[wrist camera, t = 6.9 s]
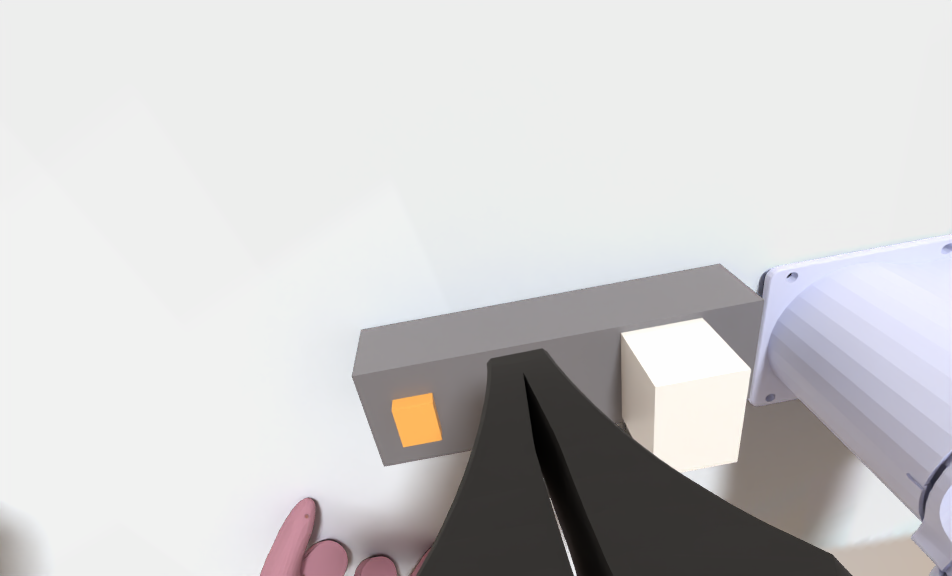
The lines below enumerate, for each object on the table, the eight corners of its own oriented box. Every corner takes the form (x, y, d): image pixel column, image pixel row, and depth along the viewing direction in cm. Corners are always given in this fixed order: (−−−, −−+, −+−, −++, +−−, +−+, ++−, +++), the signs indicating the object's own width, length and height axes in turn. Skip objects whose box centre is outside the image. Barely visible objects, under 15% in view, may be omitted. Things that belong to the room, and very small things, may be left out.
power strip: (720, 263, 22) (824, 348, 16) (700, 459, 28) (771, 570, 22) (361, 329, 21) (339, 438, 16) (420, 511, 27) (419, 637, 22)
